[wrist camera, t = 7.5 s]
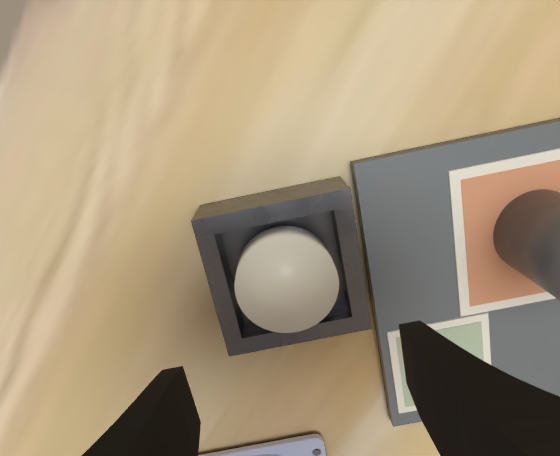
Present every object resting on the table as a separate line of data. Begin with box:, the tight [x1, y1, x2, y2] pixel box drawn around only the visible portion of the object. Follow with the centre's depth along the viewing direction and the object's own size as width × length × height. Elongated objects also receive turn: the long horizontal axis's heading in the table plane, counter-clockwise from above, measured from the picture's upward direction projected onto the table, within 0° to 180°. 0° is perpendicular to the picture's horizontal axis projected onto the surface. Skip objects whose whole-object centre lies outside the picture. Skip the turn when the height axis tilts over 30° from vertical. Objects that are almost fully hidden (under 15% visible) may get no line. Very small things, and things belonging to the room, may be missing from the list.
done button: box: [234, 226, 339, 333], centre depth 19 cm, size 4×4×2 cm
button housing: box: [191, 176, 372, 356], centre depth 20 cm, size 7×7×3 cm
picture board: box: [350, 118, 560, 427], centre depth 21 cm, size 15×14×1 cm
